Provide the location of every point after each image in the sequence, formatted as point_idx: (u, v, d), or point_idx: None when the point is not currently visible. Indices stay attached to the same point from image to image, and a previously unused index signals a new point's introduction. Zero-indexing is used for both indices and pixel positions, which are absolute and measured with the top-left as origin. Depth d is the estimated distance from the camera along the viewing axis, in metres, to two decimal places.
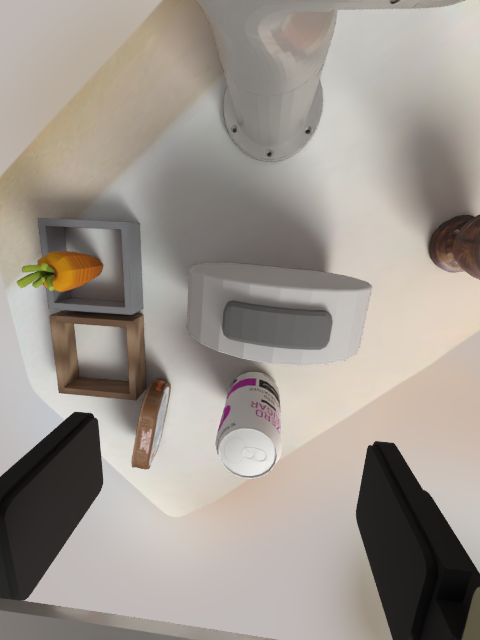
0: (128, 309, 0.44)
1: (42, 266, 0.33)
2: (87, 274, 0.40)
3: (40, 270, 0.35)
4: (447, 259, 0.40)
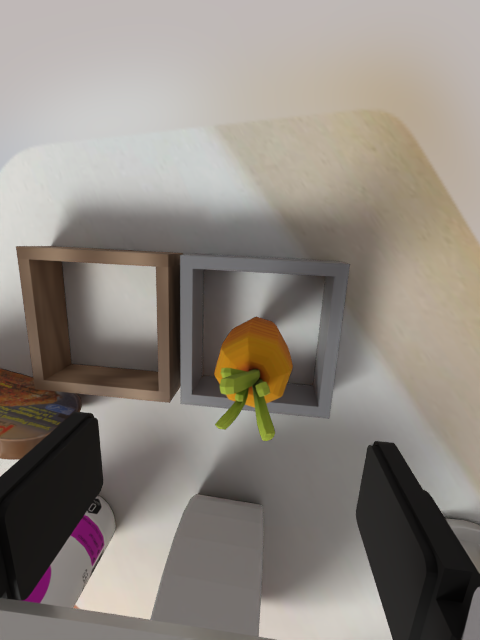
0: (189, 399, 0.27)
1: (267, 436, 0.15)
2: None
3: None
4: None
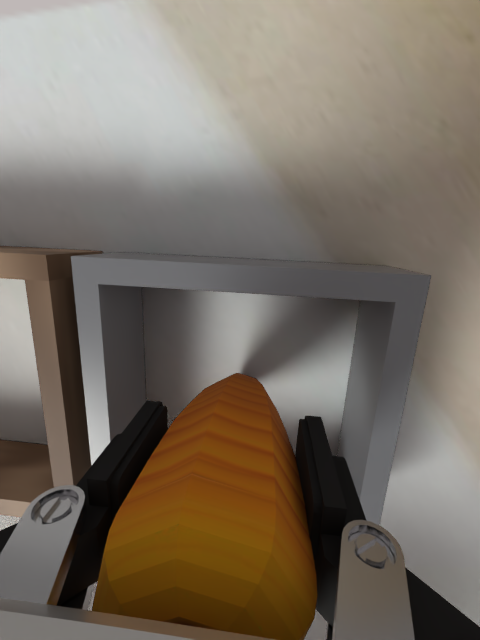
0: None
1: None
2: None
3: None
4: None
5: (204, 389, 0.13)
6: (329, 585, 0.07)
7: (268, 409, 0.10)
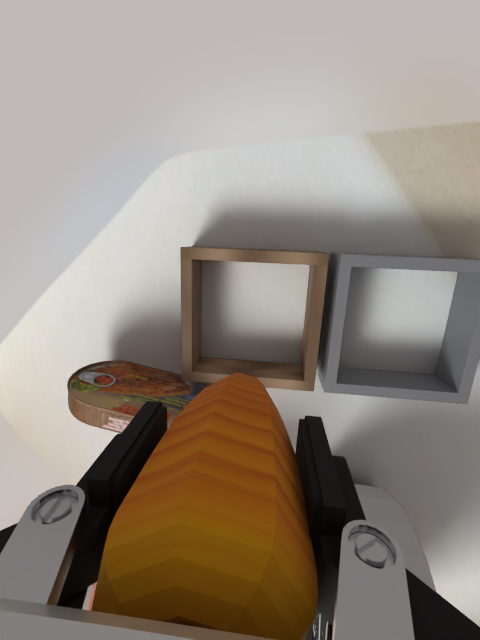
0: (333, 388, 0.29)
1: None
2: None
3: None
4: None
5: (204, 388, 0.13)
6: (329, 585, 0.07)
7: (268, 408, 0.10)
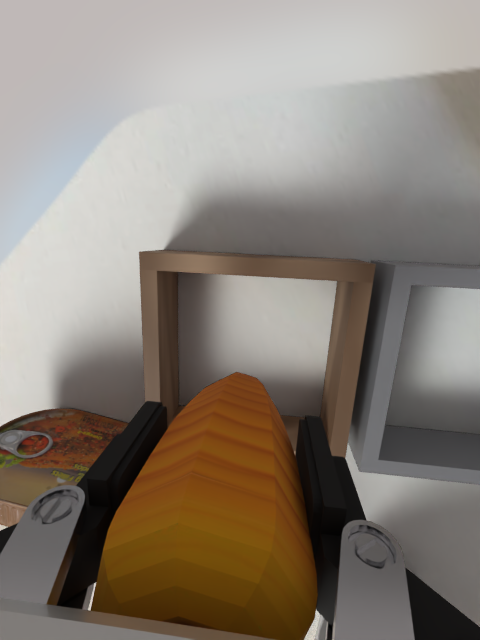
0: (373, 466, 0.19)
1: None
2: None
3: None
4: None
5: (204, 388, 0.13)
6: (329, 585, 0.07)
7: (268, 408, 0.10)
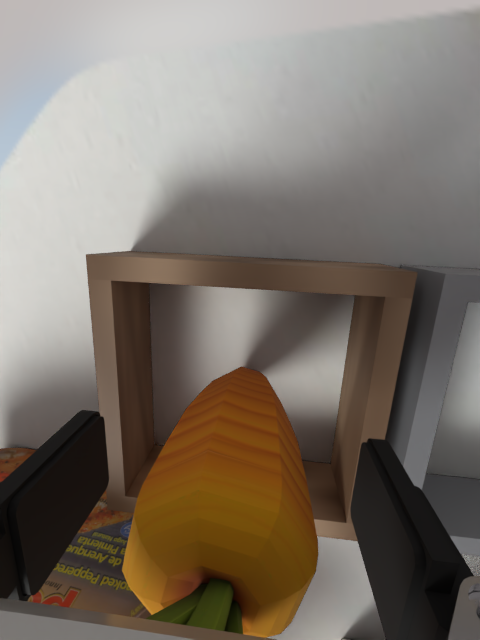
0: None
1: None
2: None
3: None
4: None
5: (212, 381, 0.14)
6: None
7: (272, 398, 0.11)
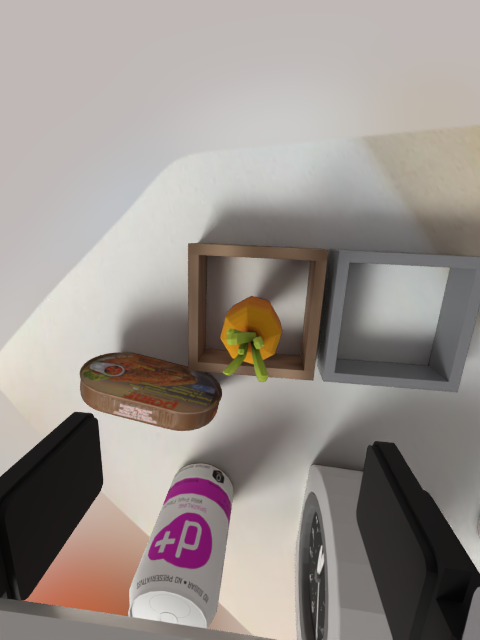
0: (331, 377, 0.31)
1: (262, 377, 0.20)
2: None
3: (254, 344, 0.21)
4: None
5: None
6: None
7: (268, 301, 0.28)
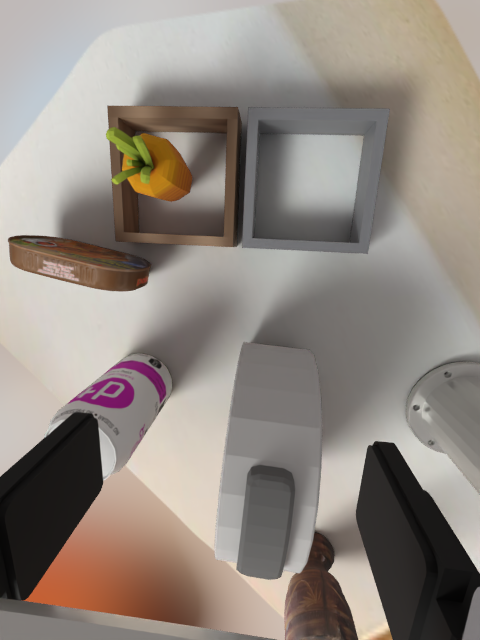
0: (249, 242, 0.32)
1: (144, 177, 0.21)
2: None
3: (143, 157, 0.23)
4: None
5: None
6: None
7: (180, 156, 0.29)
